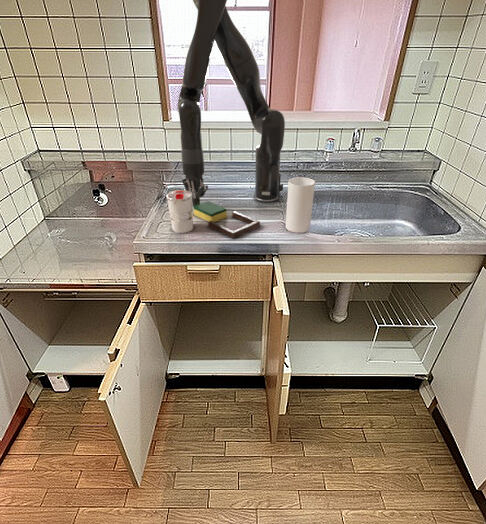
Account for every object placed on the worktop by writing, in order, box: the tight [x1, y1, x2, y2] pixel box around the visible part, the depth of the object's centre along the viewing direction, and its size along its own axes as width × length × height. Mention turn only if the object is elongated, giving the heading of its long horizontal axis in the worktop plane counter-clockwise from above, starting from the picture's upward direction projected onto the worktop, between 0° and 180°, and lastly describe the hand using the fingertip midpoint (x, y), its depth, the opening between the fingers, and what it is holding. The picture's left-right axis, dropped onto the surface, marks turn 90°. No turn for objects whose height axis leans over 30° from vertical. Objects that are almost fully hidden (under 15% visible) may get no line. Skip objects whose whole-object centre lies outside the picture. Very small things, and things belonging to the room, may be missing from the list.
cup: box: [284, 176, 316, 234], centre depth 115 cm, size 8×8×16 cm
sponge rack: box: [207, 210, 261, 240], centre depth 120 cm, size 12×12×2 cm
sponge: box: [192, 200, 228, 223], centre depth 127 cm, size 7×10×3 cm
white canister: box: [165, 189, 194, 234], centre depth 116 cm, size 10×8×12 cm
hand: (196, 206), depth 132 cm, fingers closed
